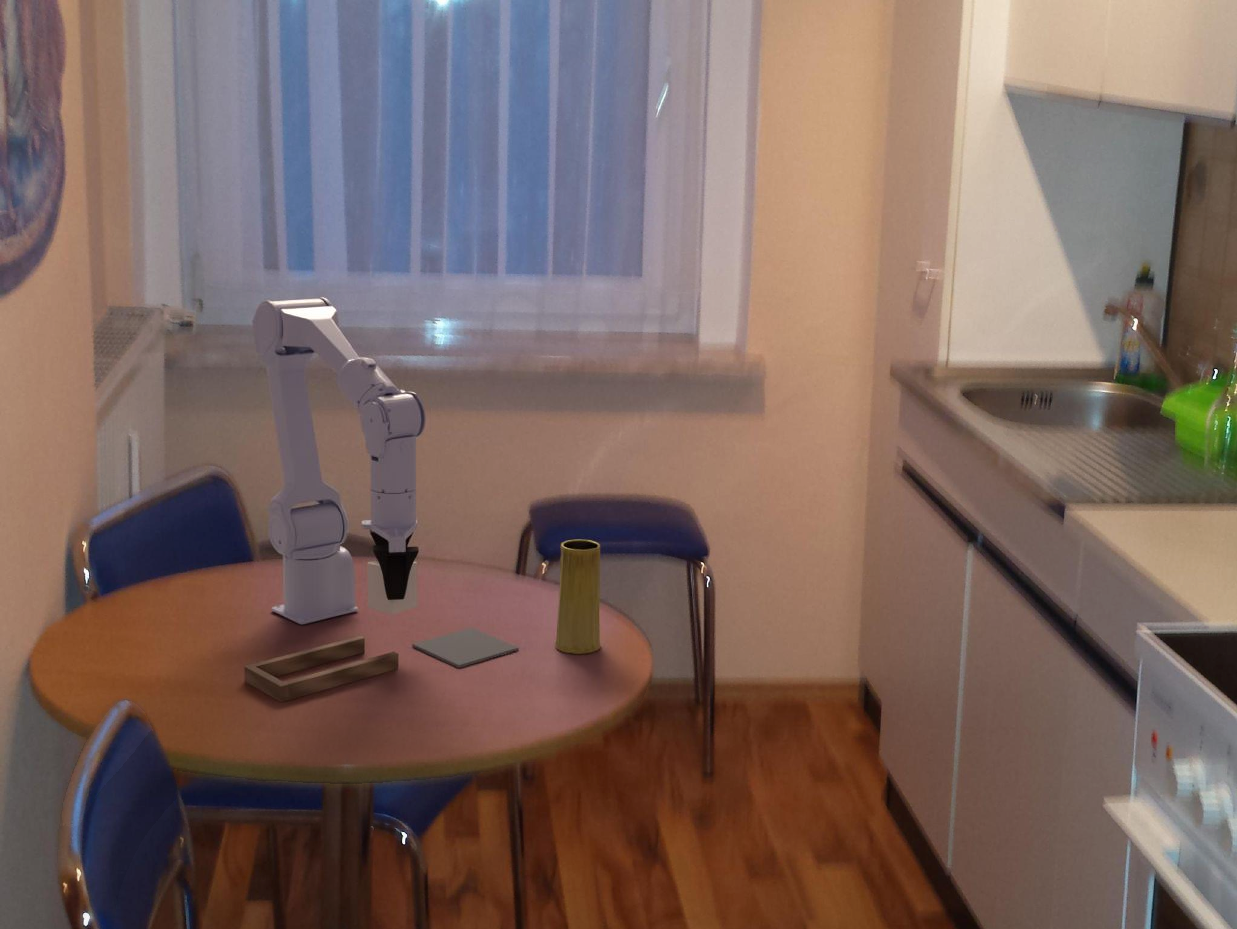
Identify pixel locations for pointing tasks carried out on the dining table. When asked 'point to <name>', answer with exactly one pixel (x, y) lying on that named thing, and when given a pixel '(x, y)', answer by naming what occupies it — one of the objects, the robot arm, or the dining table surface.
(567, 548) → the vase
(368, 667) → the walnut channel
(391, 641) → the dining table surface
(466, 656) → the slate mat
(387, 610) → the white block
